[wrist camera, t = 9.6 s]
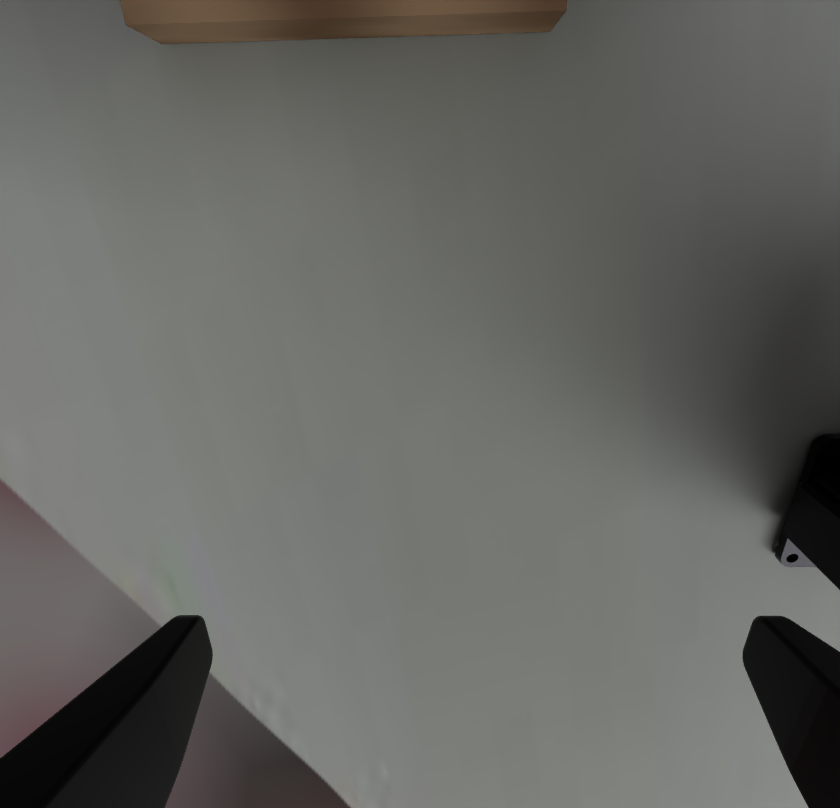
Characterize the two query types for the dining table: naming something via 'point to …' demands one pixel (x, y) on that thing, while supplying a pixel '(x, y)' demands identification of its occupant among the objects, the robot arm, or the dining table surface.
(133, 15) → the plinth
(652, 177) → the dining table surface
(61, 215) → the dining table surface
